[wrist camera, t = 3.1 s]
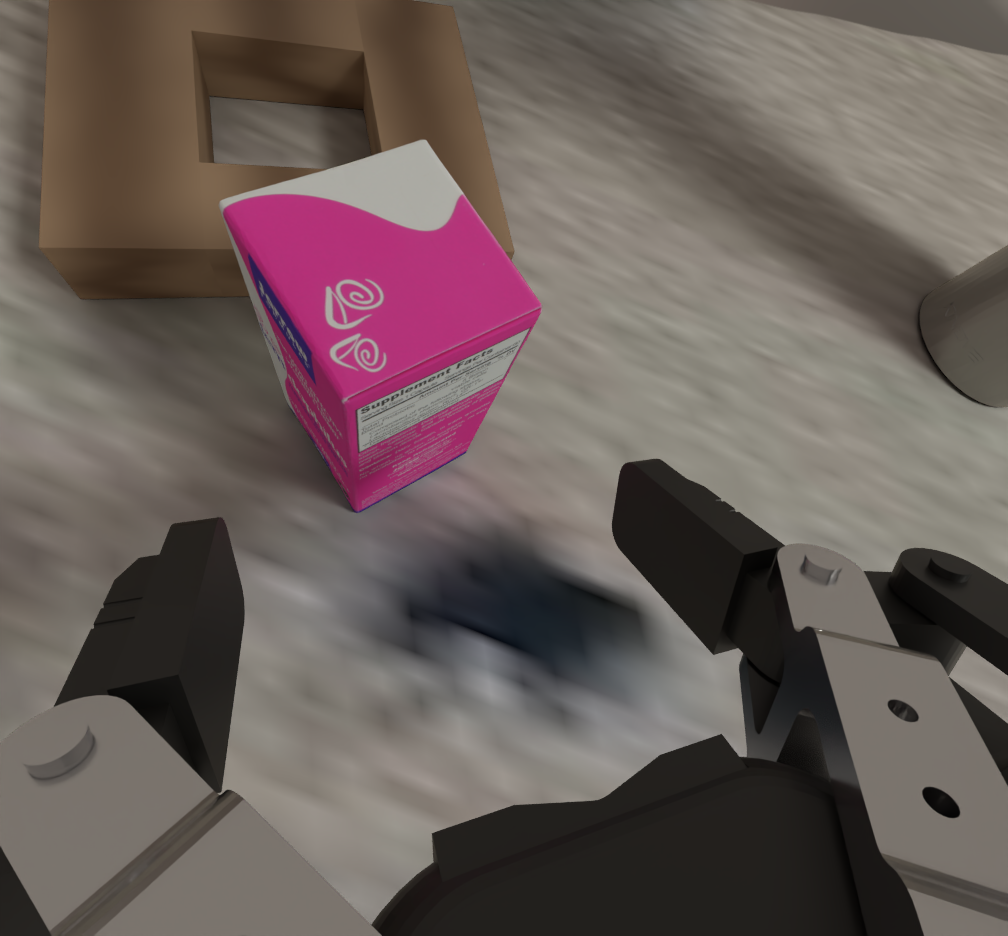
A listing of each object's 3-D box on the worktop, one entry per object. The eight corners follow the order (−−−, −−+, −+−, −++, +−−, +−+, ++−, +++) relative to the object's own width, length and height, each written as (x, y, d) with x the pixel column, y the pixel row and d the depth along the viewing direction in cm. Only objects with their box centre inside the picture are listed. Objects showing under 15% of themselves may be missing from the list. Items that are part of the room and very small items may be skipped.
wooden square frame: (444, 63, 31) (452, 6, 28) (498, 292, 27) (514, 251, 24) (84, 19, 25) (51, -57, 23) (81, 299, 21) (39, 247, 18)
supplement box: (281, 406, 22) (207, 187, 11) (403, 352, 24) (435, 128, 14) (351, 521, 21) (341, 400, 11) (470, 454, 23) (558, 300, 13)
